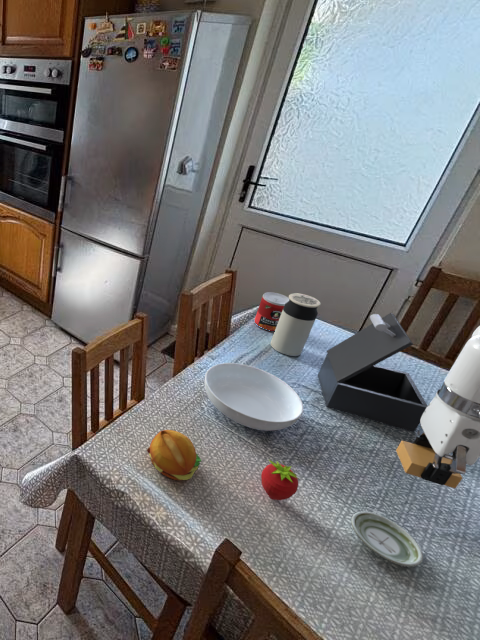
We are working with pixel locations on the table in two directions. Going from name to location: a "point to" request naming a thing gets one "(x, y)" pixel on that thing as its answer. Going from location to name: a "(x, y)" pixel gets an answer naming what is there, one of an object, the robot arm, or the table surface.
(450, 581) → the table surface
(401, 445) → the brown rectangular block
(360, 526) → the saucer
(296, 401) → the serving bowl
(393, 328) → the lid
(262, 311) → the canned food
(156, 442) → the cheeseburger
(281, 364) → the table surface
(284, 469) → the strawberry
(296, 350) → the travel mug
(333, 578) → the table surface
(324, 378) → the lidded storage box
